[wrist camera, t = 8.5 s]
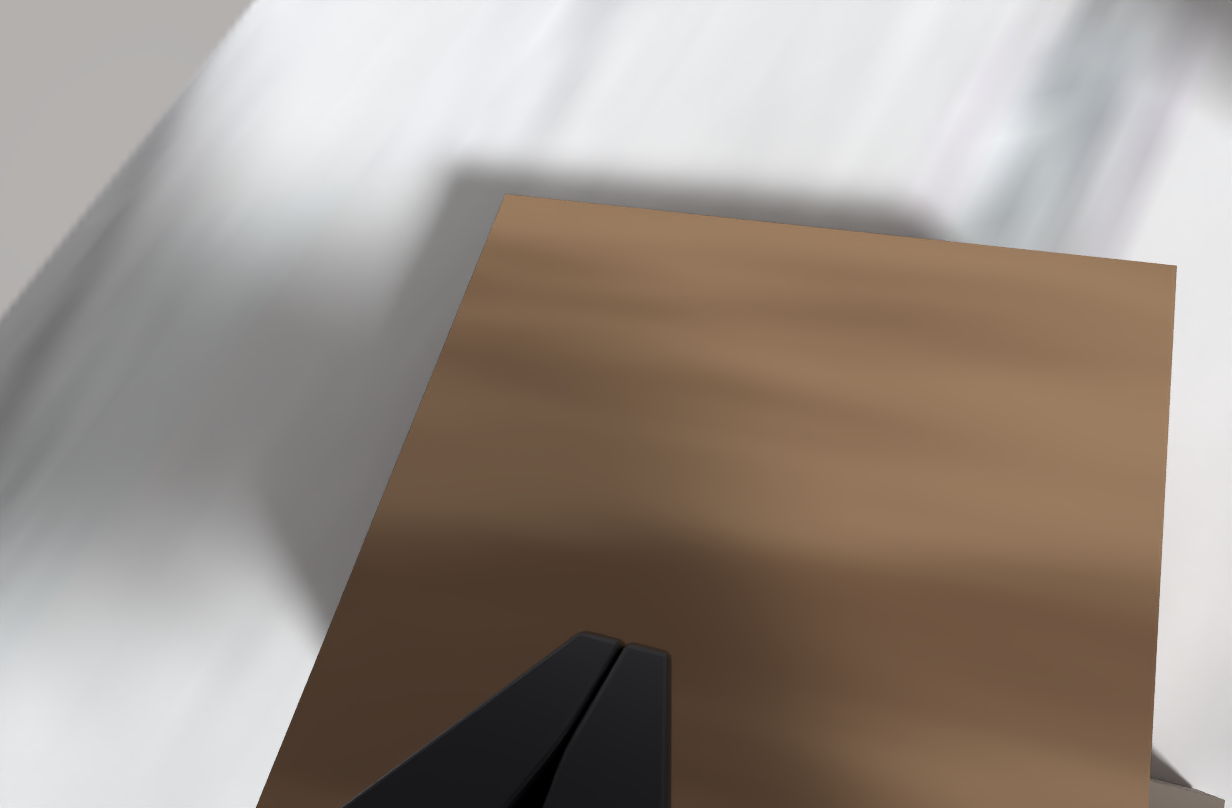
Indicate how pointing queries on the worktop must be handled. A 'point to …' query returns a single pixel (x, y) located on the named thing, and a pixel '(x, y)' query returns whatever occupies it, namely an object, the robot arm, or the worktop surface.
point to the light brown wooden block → (777, 512)
